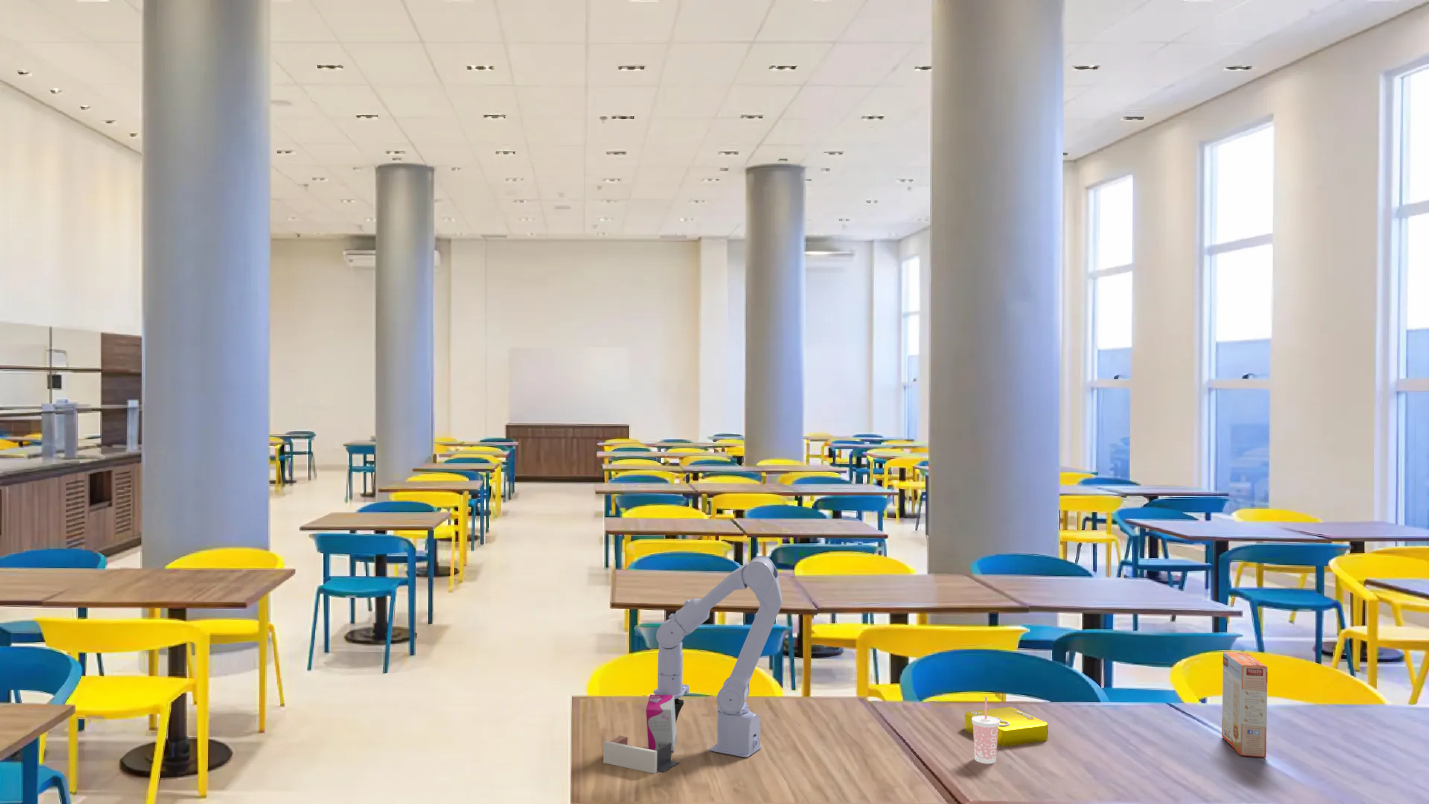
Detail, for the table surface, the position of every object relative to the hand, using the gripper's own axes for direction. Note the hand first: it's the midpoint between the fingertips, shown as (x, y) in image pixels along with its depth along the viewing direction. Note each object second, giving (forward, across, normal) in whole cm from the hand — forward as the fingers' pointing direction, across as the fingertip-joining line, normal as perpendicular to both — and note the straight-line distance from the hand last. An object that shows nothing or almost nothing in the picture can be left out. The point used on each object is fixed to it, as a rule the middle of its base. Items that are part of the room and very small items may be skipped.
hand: (669, 732), depth 229 cm
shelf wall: (+3, +17, 0) cm, 17 cm away
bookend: (+3, +13, +7) cm, 15 cm away
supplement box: (+2, +3, 0) cm, 4 cm away
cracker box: (+3, -66, +117) cm, 134 cm away
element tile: (+3, -48, +66) cm, 82 cm away
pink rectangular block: (+3, +13, -6) cm, 14 cm away
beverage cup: (+3, -27, +66) cm, 71 cm away
